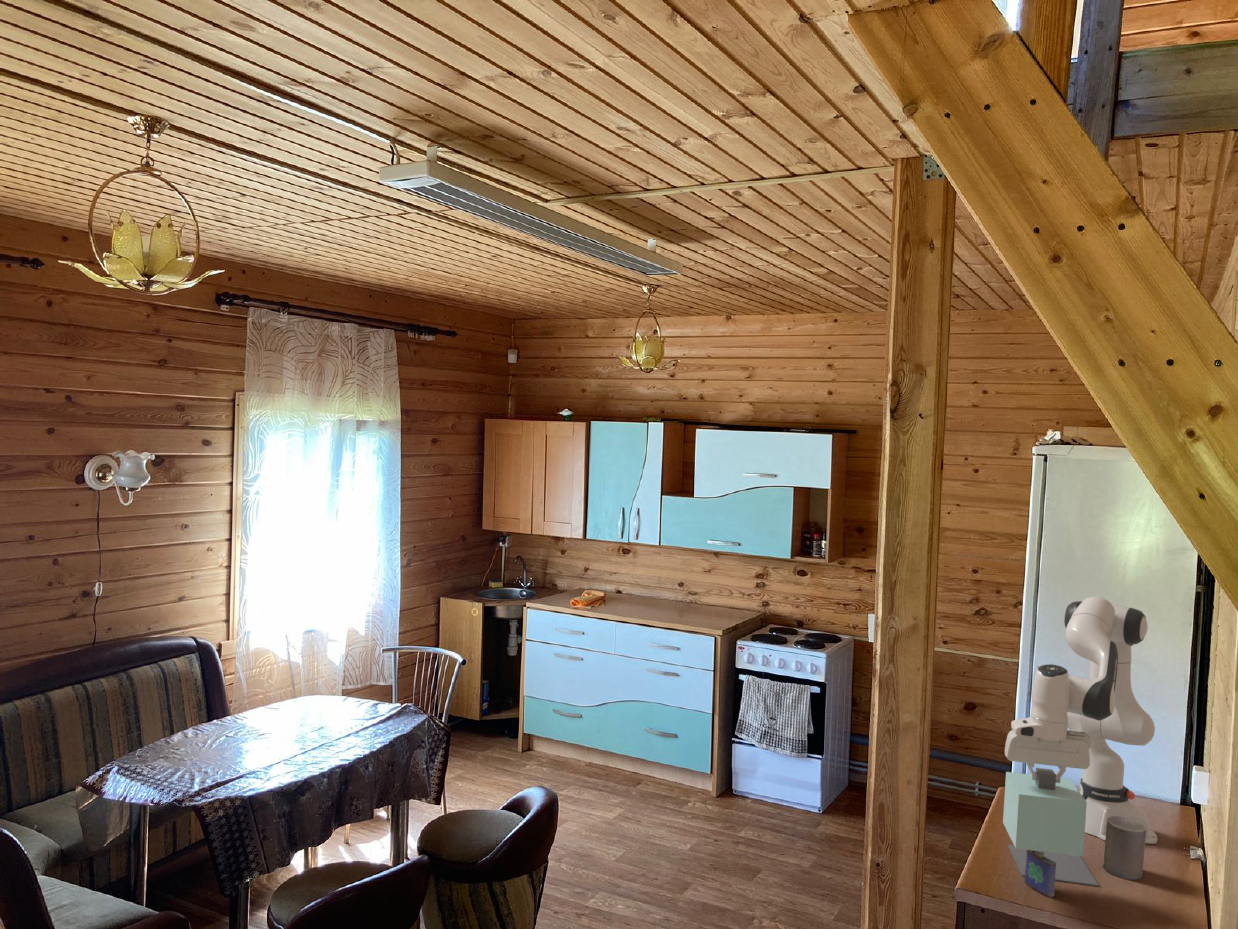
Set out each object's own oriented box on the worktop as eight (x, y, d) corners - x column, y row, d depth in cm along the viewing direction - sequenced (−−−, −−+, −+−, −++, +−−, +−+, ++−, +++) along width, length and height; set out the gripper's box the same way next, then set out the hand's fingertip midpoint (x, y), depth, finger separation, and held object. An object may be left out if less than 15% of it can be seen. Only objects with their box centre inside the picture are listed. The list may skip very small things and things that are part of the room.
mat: (1078, 855, 265) (1078, 853, 265) (1098, 886, 246) (1098, 885, 246) (1007, 845, 269) (1007, 844, 269) (1022, 876, 250) (1022, 875, 250)
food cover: (1066, 830, 249) (1070, 764, 248) (1083, 856, 233) (1087, 786, 233) (1002, 822, 252) (1006, 757, 251) (1015, 848, 237) (1019, 778, 236)
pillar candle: (1094, 865, 259) (1098, 813, 258) (1120, 861, 262) (1124, 809, 261) (1124, 882, 249) (1129, 828, 249) (1151, 878, 253) (1155, 824, 252)
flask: (1056, 897, 239) (1058, 856, 239) (1047, 899, 238) (1049, 858, 238) (1029, 880, 248) (1031, 841, 248) (1020, 881, 247) (1023, 842, 247)
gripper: (1088, 729, 243) (1084, 781, 243) (1005, 720, 247) (1001, 771, 247) (1095, 736, 236) (1091, 790, 237) (1010, 728, 240) (1006, 780, 241)
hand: (1045, 780), depth 242 cm, fingers closed on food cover, 4 cm apart
